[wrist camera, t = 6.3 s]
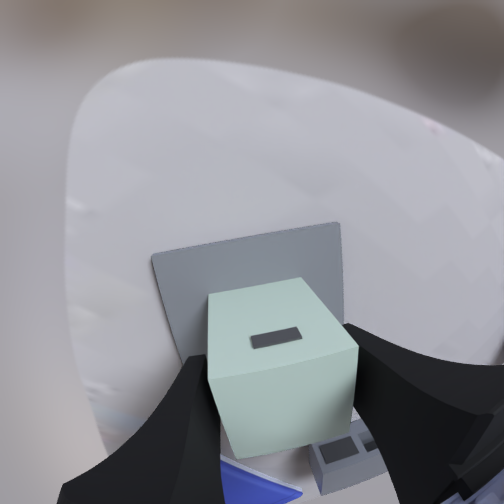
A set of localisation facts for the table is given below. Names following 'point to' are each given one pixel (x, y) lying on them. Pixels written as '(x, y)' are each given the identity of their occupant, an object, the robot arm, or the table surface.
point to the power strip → (345, 459)
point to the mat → (246, 275)
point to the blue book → (253, 485)
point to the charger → (279, 367)
